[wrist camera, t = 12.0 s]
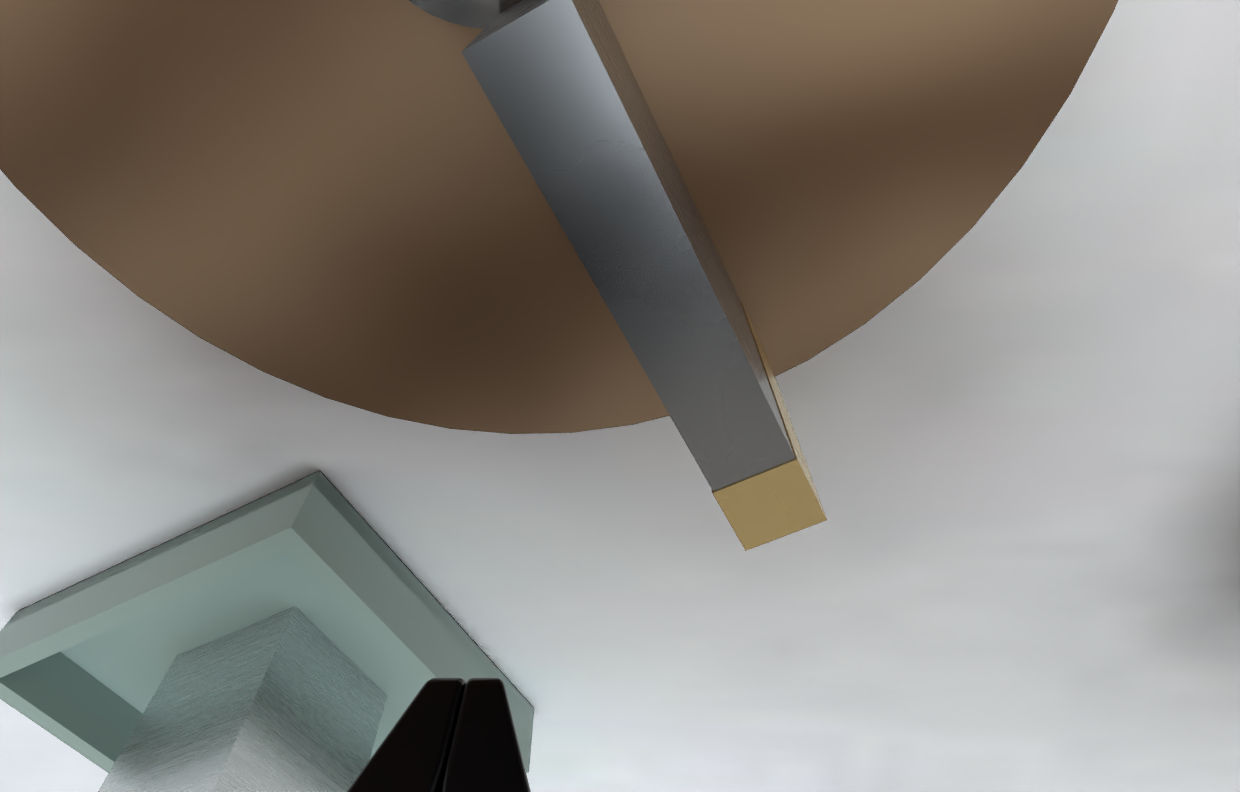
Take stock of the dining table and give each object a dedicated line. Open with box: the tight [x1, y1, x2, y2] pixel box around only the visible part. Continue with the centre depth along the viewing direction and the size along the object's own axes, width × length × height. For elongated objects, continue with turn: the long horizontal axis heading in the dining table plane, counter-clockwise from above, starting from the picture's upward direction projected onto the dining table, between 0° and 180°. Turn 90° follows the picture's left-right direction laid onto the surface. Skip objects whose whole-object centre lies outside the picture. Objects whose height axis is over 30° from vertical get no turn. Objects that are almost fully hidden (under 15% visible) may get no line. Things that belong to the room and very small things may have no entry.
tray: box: [0, 471, 534, 773], centre depth 21 cm, size 10×10×2 cm
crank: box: [409, 0, 827, 551], centre depth 11 cm, size 11×4×5 cm, turn 27°
